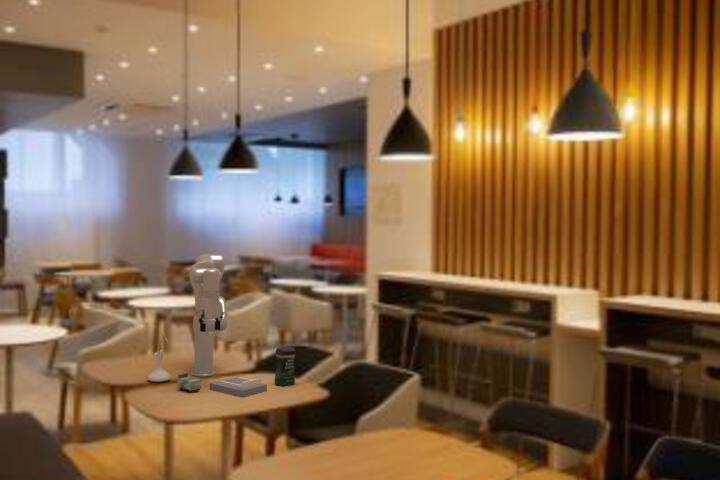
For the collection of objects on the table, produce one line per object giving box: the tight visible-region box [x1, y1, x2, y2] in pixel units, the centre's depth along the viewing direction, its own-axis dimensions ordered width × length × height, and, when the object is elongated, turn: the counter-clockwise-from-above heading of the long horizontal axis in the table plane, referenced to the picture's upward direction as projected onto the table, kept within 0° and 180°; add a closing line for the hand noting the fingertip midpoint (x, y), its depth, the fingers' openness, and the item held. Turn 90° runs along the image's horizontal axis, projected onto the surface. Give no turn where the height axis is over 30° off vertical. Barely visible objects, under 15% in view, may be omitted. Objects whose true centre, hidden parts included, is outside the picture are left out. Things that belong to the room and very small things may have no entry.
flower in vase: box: [147, 329, 172, 383], centre depth 362 cm, size 13×11×25 cm
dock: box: [209, 376, 268, 398], centre depth 346 cm, size 22×16×6 cm
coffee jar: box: [274, 346, 296, 387], centre depth 360 cm, size 10×8×19 cm
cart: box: [176, 372, 203, 393], centre depth 343 cm, size 10×6×7 cm, turn 53°
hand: (210, 330), depth 350 cm, fingers open, 9 cm apart
